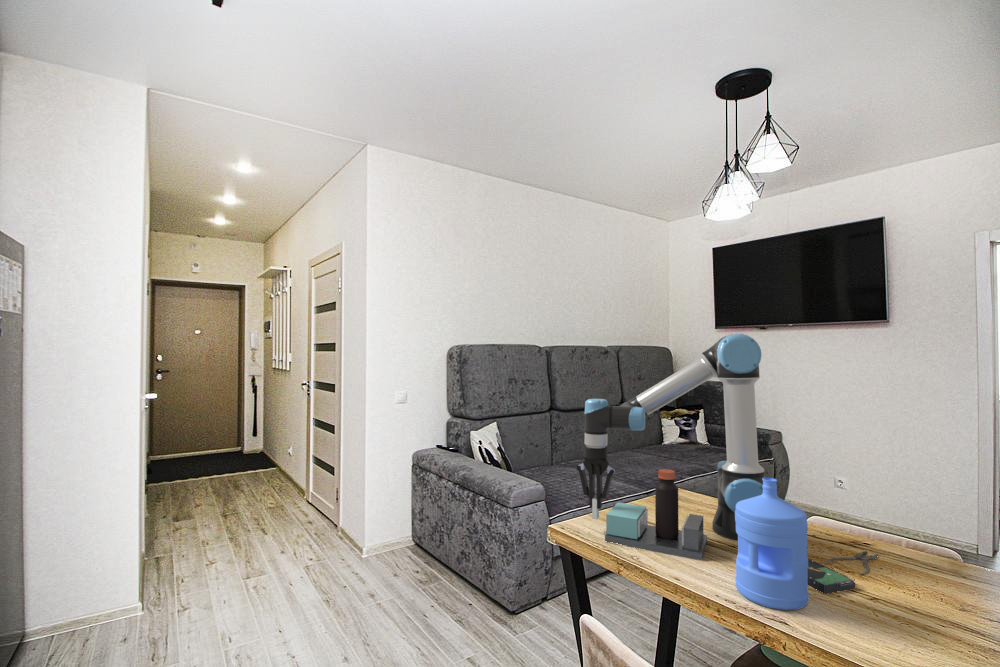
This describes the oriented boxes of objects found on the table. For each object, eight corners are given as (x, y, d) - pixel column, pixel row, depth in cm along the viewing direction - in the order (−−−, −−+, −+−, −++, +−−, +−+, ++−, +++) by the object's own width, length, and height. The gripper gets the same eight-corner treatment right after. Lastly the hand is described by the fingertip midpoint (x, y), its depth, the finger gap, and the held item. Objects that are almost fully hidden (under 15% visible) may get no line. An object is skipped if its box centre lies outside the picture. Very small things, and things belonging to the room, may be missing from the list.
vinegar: (680, 534, 154) (680, 469, 155) (675, 541, 148) (675, 474, 149) (658, 529, 158) (658, 467, 158) (653, 536, 152) (652, 471, 152)
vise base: (707, 541, 154) (707, 515, 154) (701, 560, 140) (701, 532, 140) (618, 525, 167) (618, 502, 167) (604, 541, 153) (604, 515, 153)
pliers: (822, 563, 137) (839, 544, 151) (822, 566, 137) (839, 547, 151) (865, 575, 130) (879, 553, 144) (865, 578, 130) (879, 556, 144)
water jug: (761, 575, 131) (760, 469, 132) (823, 602, 117) (821, 483, 118) (721, 587, 124) (720, 475, 125) (781, 618, 110) (780, 491, 111)
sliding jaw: (648, 525, 161) (648, 506, 162) (638, 539, 149) (638, 519, 149) (617, 520, 166) (617, 502, 166) (606, 533, 154) (606, 514, 154)
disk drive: (775, 571, 135) (825, 596, 121) (774, 560, 135) (825, 584, 121) (804, 566, 138) (856, 590, 124) (803, 556, 138) (856, 579, 124)
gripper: (618, 446, 164) (618, 517, 163) (580, 442, 170) (580, 511, 169) (612, 450, 157) (612, 524, 156) (573, 445, 163) (572, 517, 162)
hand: (595, 517), depth 163 cm, fingers closed
